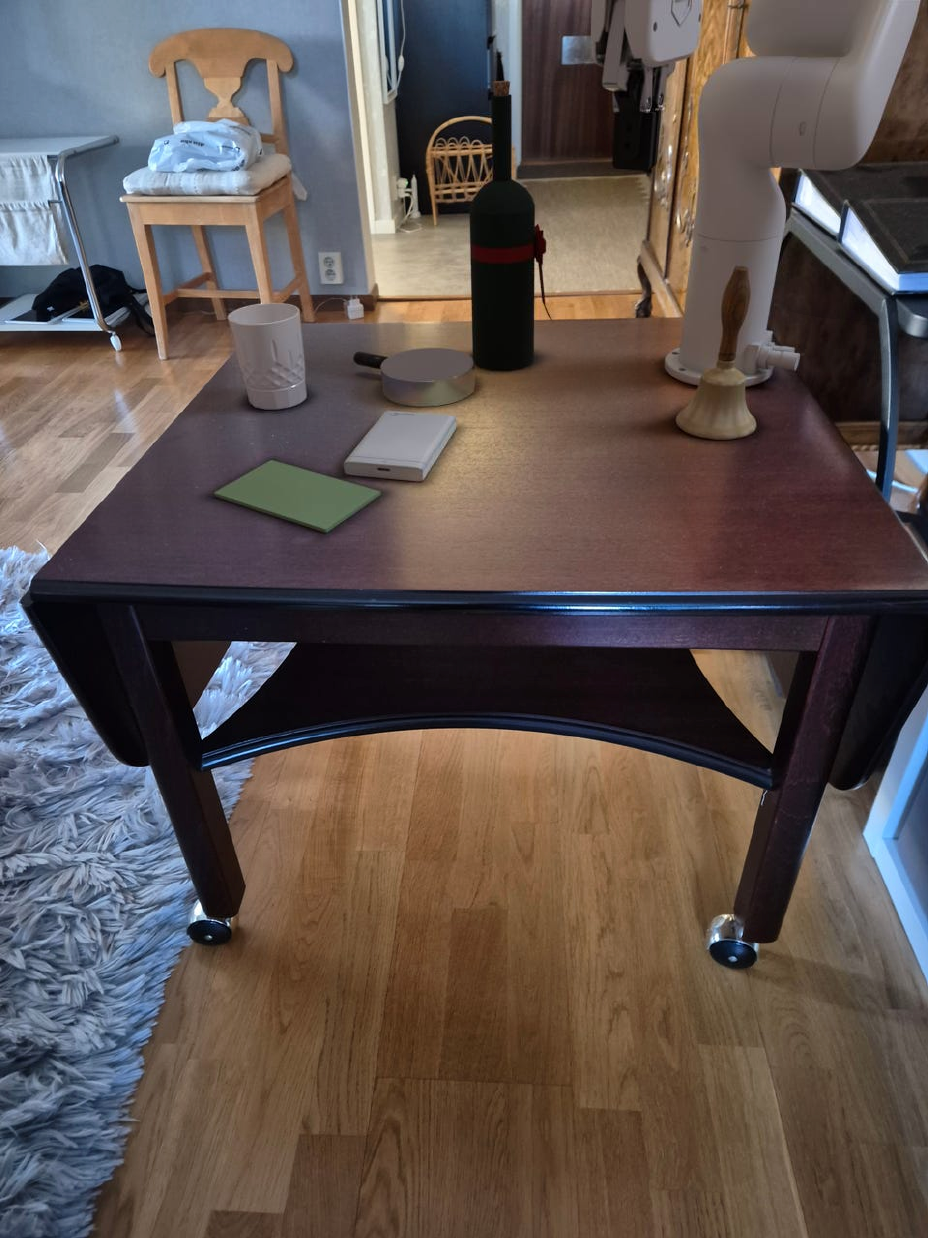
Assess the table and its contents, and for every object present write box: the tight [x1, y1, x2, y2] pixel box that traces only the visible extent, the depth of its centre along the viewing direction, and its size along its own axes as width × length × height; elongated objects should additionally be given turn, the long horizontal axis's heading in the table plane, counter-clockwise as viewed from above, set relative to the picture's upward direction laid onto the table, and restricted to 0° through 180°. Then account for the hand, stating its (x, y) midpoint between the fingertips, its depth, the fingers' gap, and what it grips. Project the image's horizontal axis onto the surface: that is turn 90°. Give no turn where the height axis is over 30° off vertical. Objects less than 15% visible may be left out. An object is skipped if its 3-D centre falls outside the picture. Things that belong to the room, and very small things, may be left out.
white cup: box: [227, 302, 308, 411], centre depth 97 cm, size 8×8×10 cm
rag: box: [213, 459, 382, 534], centre depth 80 cm, size 14×8×1 cm, turn 57°
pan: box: [352, 347, 476, 408], centre depth 101 cm, size 16×11×3 cm, turn 57°
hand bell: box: [675, 266, 757, 441], centre depth 85 cm, size 8×8×16 cm
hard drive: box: [343, 410, 458, 482], centre depth 87 cm, size 2×8×12 cm
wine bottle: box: [468, 80, 555, 372], centre depth 99 cm, size 8×10×30 cm
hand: (634, 167), depth 68 cm, fingers closed
